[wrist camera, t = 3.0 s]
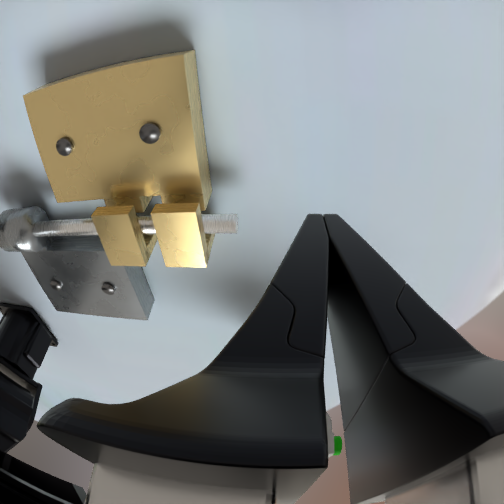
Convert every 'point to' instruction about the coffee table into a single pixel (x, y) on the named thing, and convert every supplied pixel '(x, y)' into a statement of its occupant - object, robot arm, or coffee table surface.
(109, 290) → the fixed leaf
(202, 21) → the coffee table surface
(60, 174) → the loose leaf
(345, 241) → the robot arm
